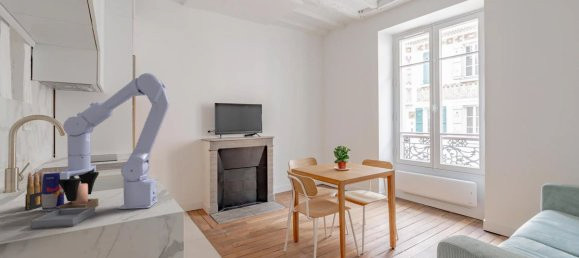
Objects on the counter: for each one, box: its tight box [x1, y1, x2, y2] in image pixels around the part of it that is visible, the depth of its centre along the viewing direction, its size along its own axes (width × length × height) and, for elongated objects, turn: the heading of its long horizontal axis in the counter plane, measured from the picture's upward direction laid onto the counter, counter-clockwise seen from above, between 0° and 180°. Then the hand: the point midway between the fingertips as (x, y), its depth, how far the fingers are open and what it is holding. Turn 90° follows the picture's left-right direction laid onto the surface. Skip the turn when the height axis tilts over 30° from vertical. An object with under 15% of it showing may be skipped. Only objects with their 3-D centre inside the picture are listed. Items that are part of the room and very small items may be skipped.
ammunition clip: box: [24, 167, 59, 211], centre depth 90 cm, size 11×2×12 cm, turn 174°
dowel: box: [72, 183, 89, 204], centre depth 85 cm, size 4×4×8 cm
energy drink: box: [41, 170, 65, 213], centre depth 85 cm, size 5×5×12 cm
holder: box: [60, 198, 99, 209], centre depth 85 cm, size 7×7×2 cm
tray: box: [30, 207, 96, 229], centre depth 75 cm, size 10×10×2 cm
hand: (79, 197), depth 85 cm, fingers open, 7 cm apart
